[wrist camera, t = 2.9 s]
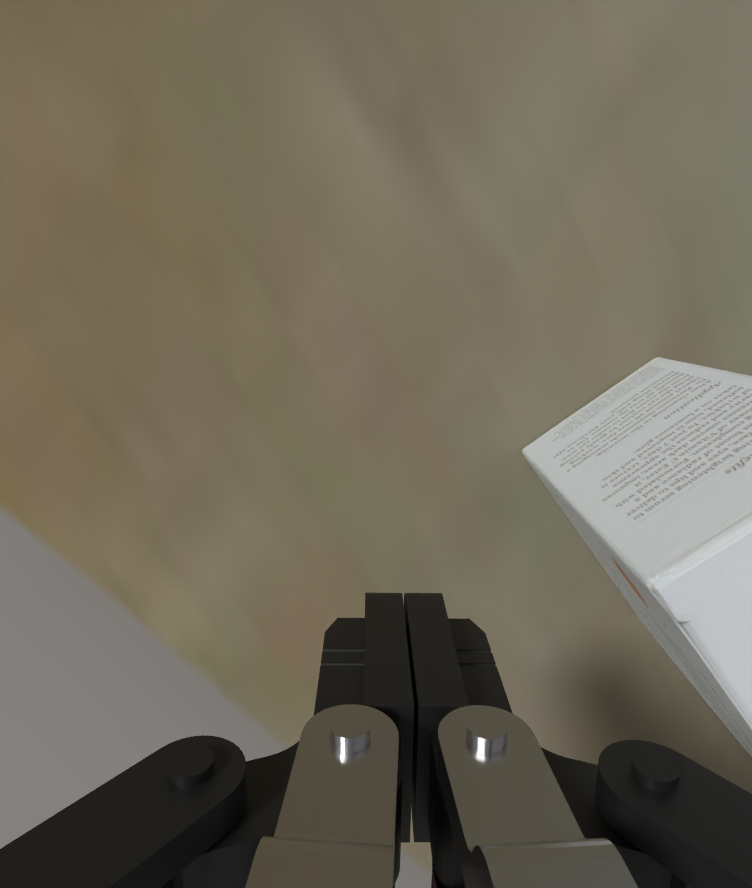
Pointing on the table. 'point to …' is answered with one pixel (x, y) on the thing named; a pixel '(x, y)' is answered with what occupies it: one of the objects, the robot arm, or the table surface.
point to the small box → (670, 515)
